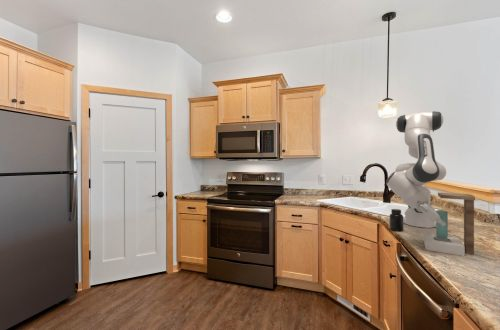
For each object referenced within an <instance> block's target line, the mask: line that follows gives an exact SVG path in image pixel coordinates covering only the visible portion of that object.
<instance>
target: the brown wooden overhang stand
mask: <svg viewBox="0 0 500 330" xmlns="http://www.w3.org/2000/svg"><path fill="white" fill-rule="evenodd" d="M437 196H438V197H439V198H440V199H447V200H448V199H449V200H463V245H464V246H465V253H466V254H469V255H475V201H476V196H475V195H473V194H470V193H460V192H459V193H455V192H437Z"/></svg>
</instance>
